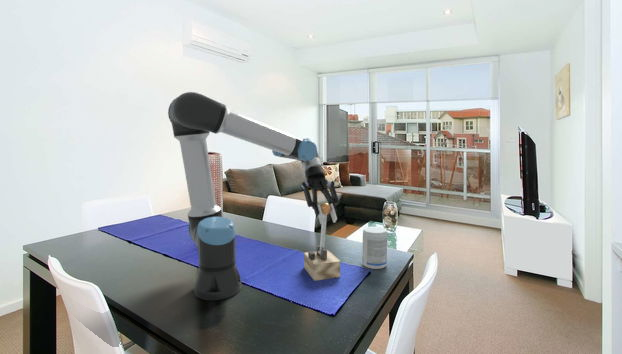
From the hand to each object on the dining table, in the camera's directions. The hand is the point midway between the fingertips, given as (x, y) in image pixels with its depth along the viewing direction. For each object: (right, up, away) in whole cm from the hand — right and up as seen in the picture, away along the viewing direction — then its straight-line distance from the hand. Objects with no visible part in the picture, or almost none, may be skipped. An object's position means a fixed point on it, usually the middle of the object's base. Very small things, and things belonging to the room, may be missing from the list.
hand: (328, 221), depth 111 cm
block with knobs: (-2, -20, +6) cm, 21 cm away
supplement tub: (+19, -20, +13) cm, 30 cm away
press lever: (-2, -13, +5) cm, 14 cm away
